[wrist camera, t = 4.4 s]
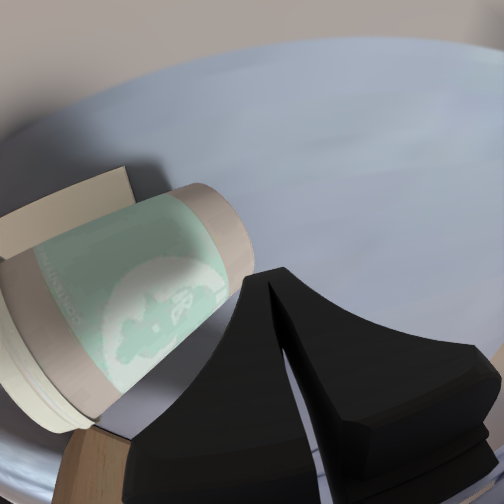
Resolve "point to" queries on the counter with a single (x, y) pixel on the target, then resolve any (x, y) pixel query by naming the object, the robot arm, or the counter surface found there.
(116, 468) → the wooden block
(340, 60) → the counter surface
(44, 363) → the coffee cup
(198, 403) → the robot arm
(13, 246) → the mat
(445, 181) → the counter surface
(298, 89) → the counter surface
